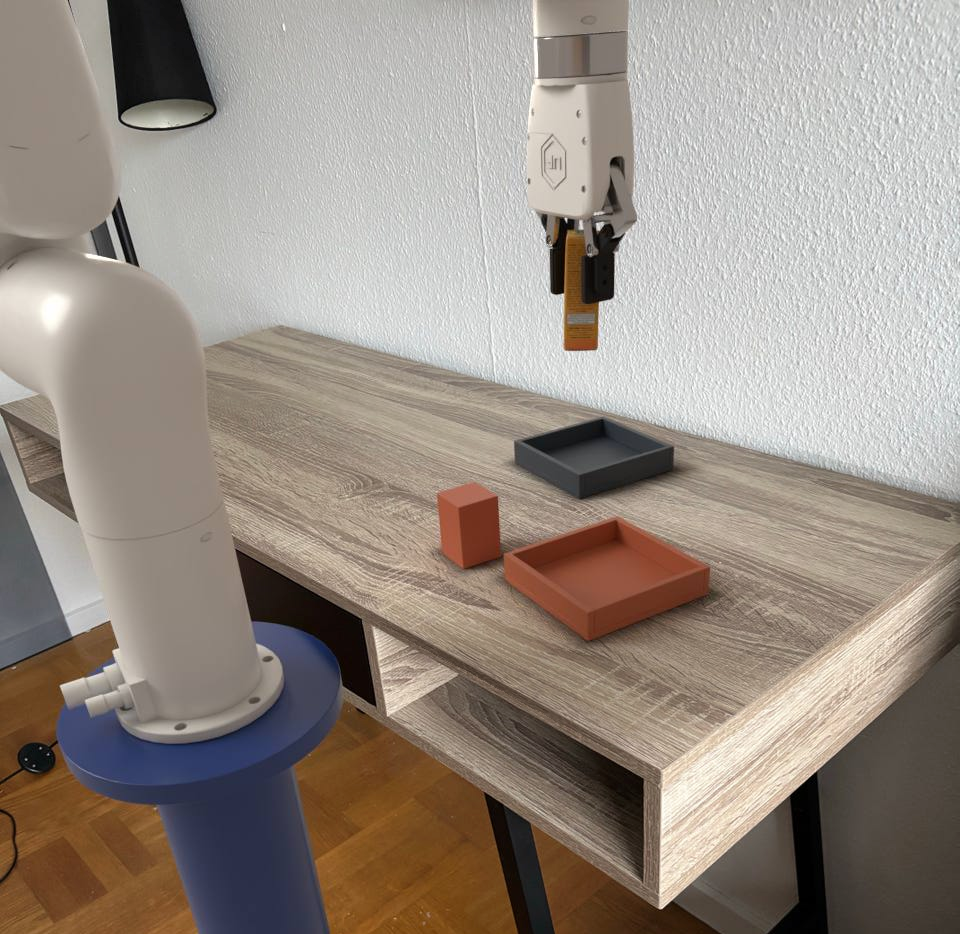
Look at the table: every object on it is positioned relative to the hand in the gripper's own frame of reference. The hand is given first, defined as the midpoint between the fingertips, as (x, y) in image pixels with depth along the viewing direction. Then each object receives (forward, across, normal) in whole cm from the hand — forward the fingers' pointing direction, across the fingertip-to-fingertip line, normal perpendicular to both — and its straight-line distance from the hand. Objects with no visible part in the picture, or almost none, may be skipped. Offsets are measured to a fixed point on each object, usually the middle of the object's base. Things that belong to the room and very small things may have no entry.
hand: (581, 294), depth 86 cm
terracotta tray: (+20, +17, -10) cm, 28 cm away
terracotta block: (+20, +5, -16) cm, 26 cm away
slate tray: (+20, -5, +5) cm, 21 cm away
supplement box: (+5, 0, 0) cm, 5 cm away
